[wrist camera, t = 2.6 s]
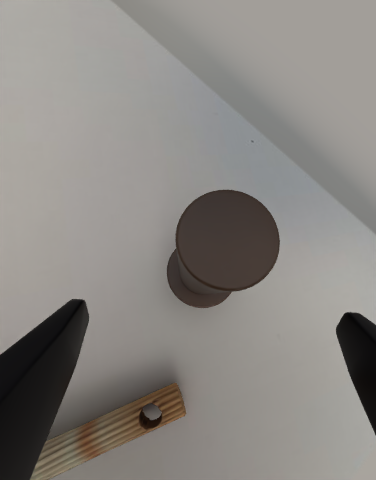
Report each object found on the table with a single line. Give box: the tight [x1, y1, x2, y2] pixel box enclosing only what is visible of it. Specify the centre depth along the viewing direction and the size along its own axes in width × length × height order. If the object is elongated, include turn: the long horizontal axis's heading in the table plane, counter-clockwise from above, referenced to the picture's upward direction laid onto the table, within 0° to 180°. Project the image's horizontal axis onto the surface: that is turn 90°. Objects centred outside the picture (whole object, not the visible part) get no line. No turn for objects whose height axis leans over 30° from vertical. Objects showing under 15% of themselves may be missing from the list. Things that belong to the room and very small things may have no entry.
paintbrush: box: [30, 383, 186, 480], centre depth 14 cm, size 4×3×20 cm
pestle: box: [167, 190, 280, 308], centre depth 12 cm, size 4×4×12 cm
